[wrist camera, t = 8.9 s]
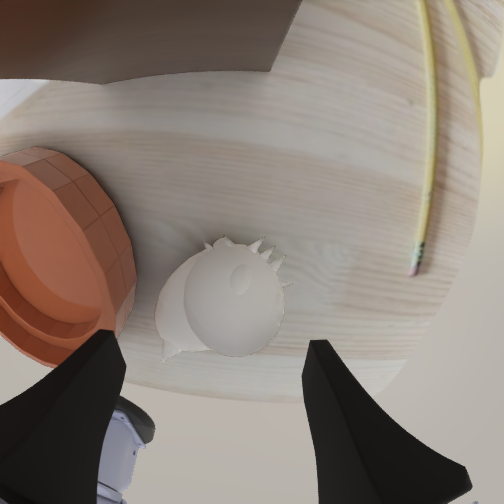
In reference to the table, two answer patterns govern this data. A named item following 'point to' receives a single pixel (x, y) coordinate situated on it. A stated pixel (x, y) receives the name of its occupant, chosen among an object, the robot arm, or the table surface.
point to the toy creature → (221, 301)
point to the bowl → (59, 256)
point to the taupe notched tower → (139, 37)
